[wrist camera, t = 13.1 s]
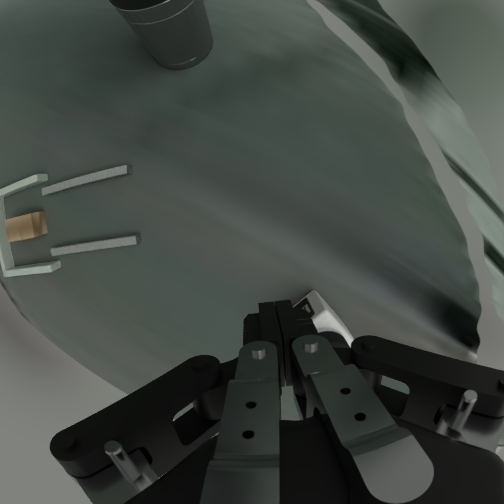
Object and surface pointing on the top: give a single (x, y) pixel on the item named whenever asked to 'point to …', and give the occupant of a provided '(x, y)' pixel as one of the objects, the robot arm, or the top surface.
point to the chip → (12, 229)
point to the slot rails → (101, 242)
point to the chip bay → (3, 253)
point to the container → (325, 320)
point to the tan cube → (32, 225)
